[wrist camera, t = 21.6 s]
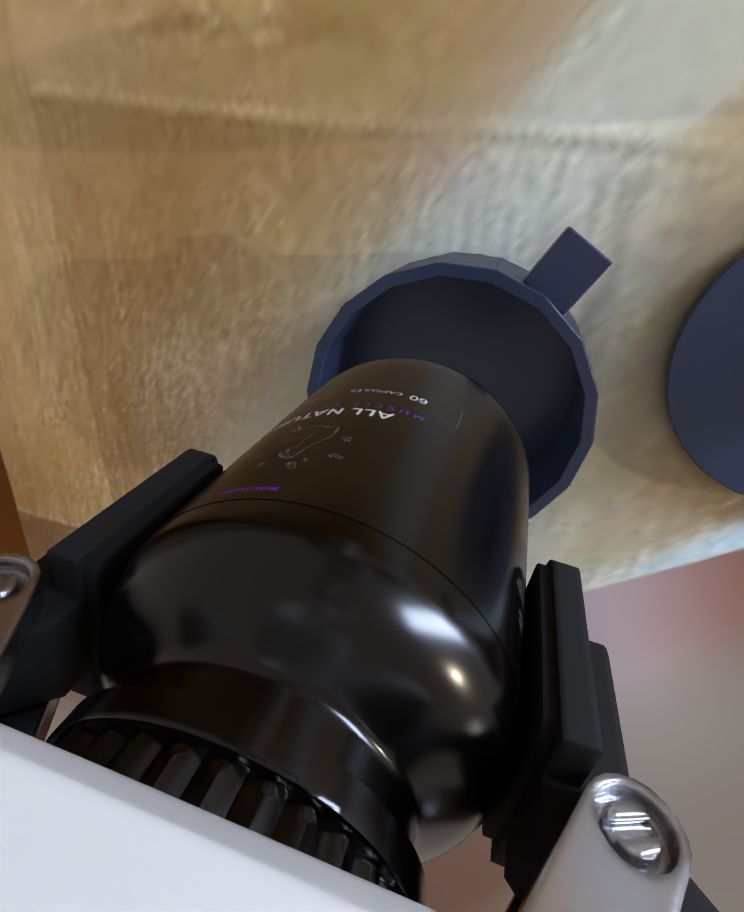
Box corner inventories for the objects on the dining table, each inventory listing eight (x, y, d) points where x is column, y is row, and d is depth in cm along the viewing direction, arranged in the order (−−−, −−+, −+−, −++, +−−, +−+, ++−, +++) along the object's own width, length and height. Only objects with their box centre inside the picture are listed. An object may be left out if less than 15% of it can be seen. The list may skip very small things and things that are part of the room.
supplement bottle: (391, 295, 13) (-114, 641, 3) (583, 467, 14) (748, 1271, 3) (260, 462, 17) (-187, 898, 6) (419, 594, 17) (252, 1191, 7)
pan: (284, 420, 36) (242, 457, 30) (471, 145, 26) (456, 130, 21) (446, 546, 37) (432, 602, 31) (686, 326, 27) (724, 356, 21)
